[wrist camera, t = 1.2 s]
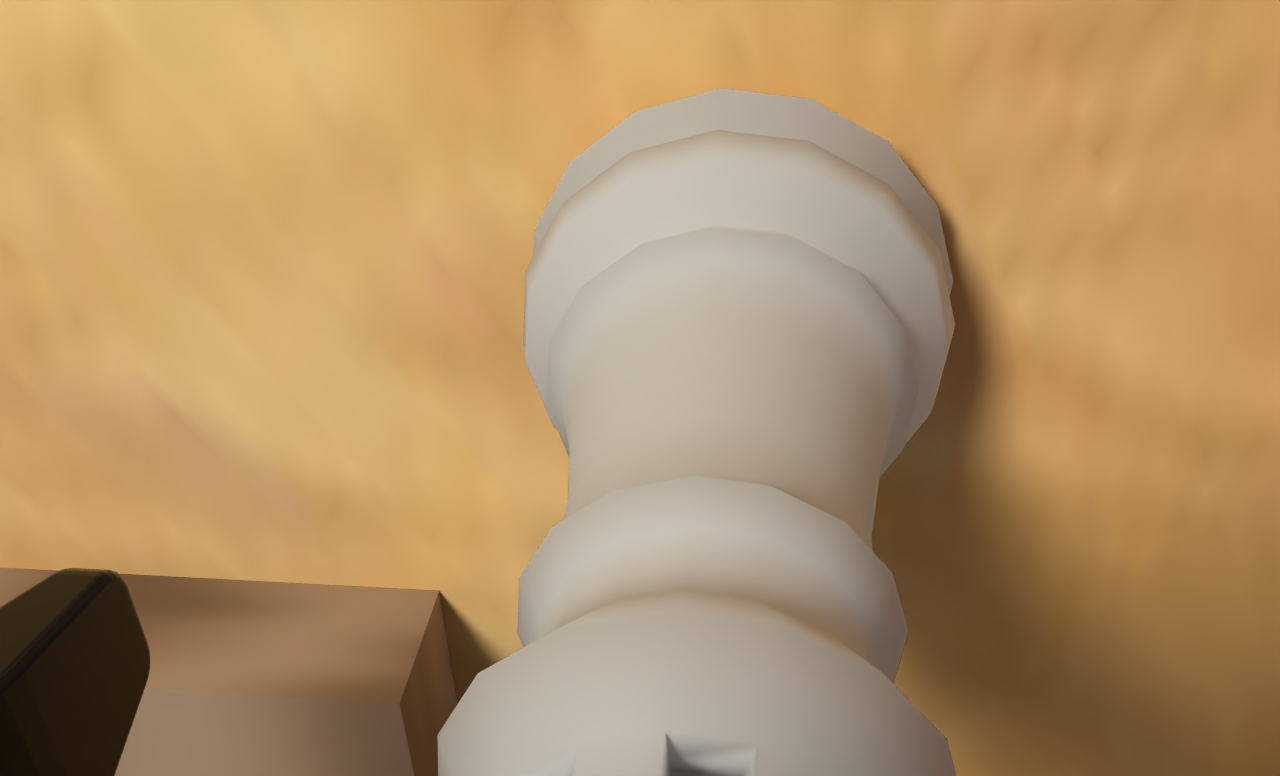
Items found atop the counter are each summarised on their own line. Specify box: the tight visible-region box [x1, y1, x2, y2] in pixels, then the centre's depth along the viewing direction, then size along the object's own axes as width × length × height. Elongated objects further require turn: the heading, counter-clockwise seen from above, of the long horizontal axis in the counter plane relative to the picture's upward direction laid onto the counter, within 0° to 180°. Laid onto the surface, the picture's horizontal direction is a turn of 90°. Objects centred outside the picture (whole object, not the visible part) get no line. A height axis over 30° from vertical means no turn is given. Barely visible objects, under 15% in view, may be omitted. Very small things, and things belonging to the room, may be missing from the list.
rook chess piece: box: [438, 88, 956, 776], centre depth 10 cm, size 4×4×8 cm
